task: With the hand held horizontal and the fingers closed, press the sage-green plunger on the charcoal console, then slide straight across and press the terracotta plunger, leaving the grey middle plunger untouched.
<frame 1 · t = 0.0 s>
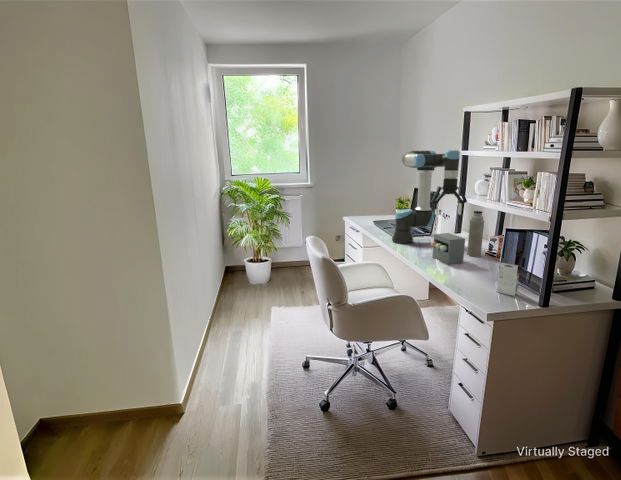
hand: (447, 214, 217), 28 cm above the table, tool pointing down, fingers open, 13 cm apart
console: (447, 260, 223), on the table
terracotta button: (435, 244, 224), point 10 cm above the table, slide at 0.0 cm
grey button: (440, 245, 220), point 9 cm above the table, slide at 0.0 cm
ink box: (506, 293, 171), on the table
thermos bottle: (473, 255, 234), on the table
sage button: (445, 247, 215), point 9 cm above the table, slide at 0.0 cm
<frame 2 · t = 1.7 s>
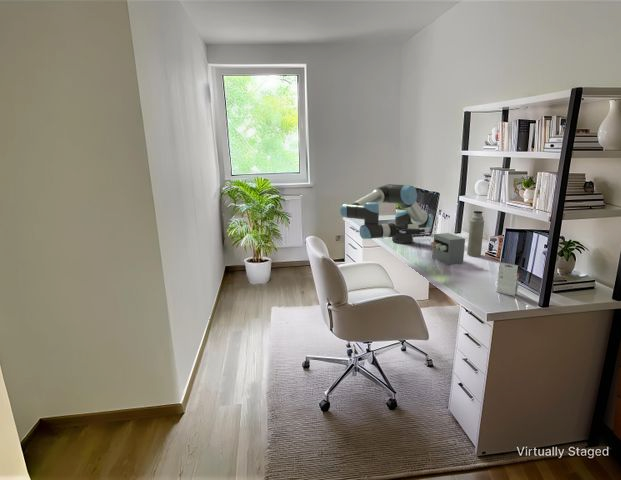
hand: (423, 228, 208), 22 cm above the table, tool horizontal, fingers open, 10 cm apart
nothing on the table moved.
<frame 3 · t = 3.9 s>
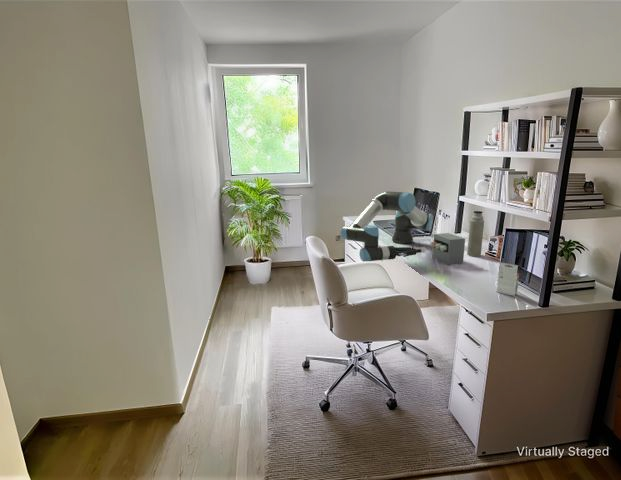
hand: (424, 249, 212), 9 cm above the table, tool horizontal, fingers closed
nothing on the table moved.
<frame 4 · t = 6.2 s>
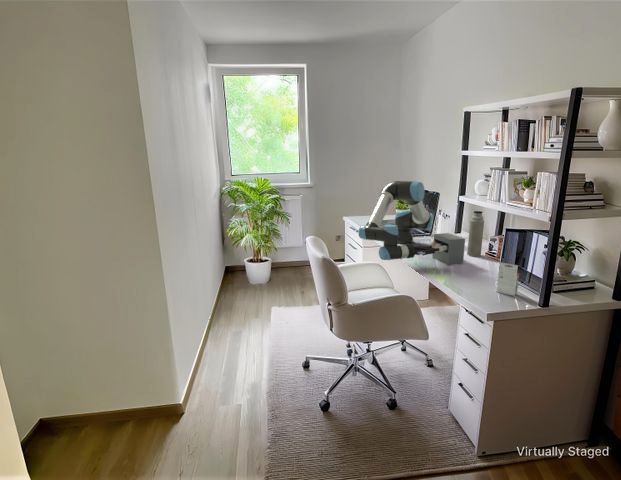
hand: (442, 248, 214), 9 cm above the table, tool horizontal, fingers closed
sage button: (446, 247, 215), point 10 cm above the table, slide at 0.7 cm, touching gripper
everything else where it was.
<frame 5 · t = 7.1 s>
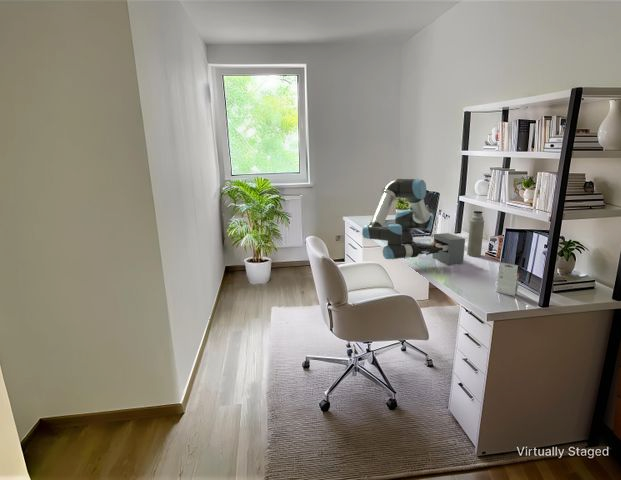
hand: (446, 247, 215), 9 cm above the table, tool horizontal, fingers closed
sage button: (450, 247, 216), point 10 cm above the table, slide at 3.2 cm, touching gripper
everything else where it was.
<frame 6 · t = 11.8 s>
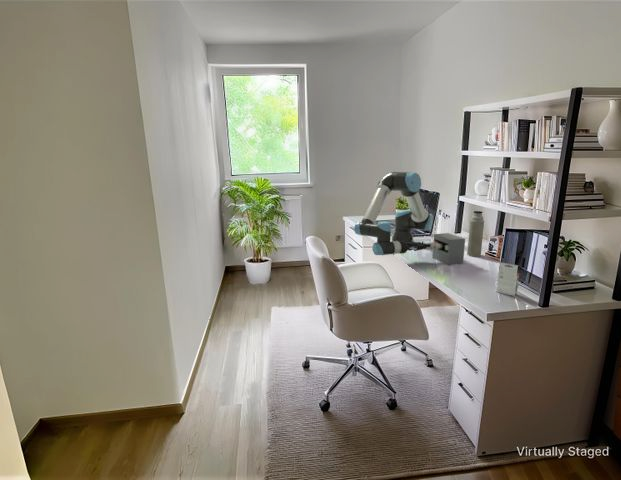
hand: (433, 244, 224), 9 cm above the table, tool horizontal, fingers closed
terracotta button: (437, 243, 224), point 10 cm above the table, slide at 1.3 cm, touching gripper
sage button: (450, 247, 216), point 9 cm above the table, slide at 3.2 cm
everything else where it was.
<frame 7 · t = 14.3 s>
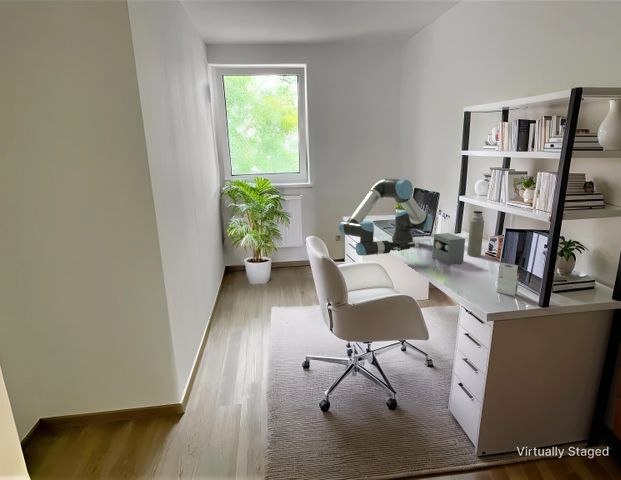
hand: (418, 244, 221), 10 cm above the table, tool horizontal, fingers closed
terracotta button: (440, 243, 225), point 9 cm above the table, slide at 3.2 cm
everything else where it was.
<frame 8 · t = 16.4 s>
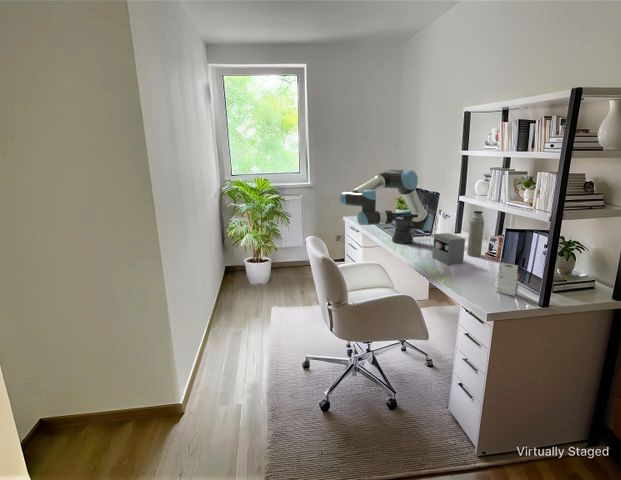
hand: (421, 215, 216), 28 cm above the table, tool horizontal, fingers closed
nothing on the table moved.
at the end: sage button slide at 3.2 cm; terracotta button slide at 3.2 cm; grey button slide at 0.0 cm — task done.
